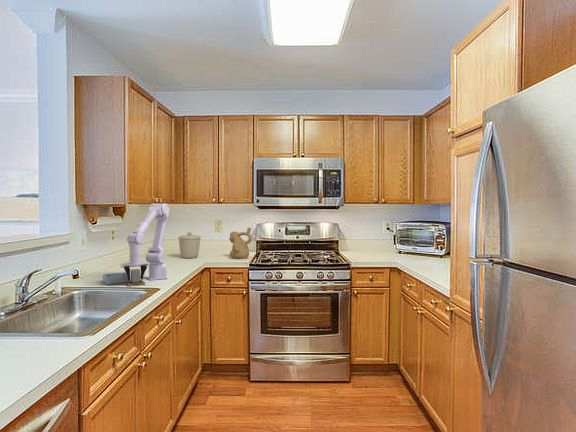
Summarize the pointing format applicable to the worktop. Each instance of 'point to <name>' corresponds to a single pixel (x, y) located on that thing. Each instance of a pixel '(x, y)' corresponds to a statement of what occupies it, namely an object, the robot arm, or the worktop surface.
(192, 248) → the canister
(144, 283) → the socket
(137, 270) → the strut
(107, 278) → the bin
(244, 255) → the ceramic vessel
